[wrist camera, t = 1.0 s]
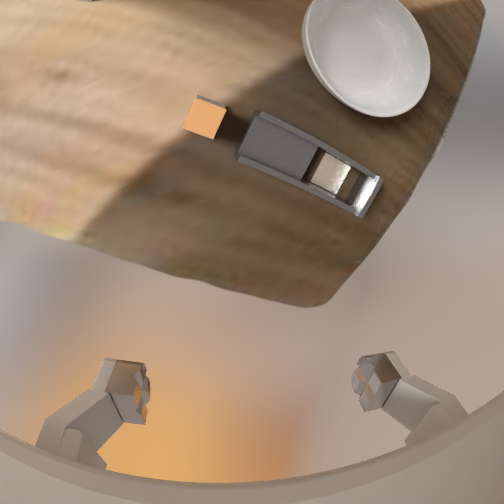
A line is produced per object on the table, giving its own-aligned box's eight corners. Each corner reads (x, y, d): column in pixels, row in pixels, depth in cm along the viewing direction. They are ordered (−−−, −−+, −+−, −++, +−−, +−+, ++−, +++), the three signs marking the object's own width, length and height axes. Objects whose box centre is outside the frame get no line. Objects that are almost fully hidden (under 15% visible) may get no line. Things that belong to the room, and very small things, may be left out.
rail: (255, 110, 34) (262, 111, 29) (367, 170, 41) (384, 180, 37) (233, 154, 37) (238, 162, 32) (347, 206, 44) (362, 218, 40)
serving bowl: (271, 85, 32) (286, 82, 26) (307, -25, 22) (325, -41, 17) (387, 131, 38) (413, 139, 32) (413, 34, 28) (439, 31, 22)
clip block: (195, 98, 31) (195, 97, 27) (224, 108, 32) (226, 109, 29) (184, 125, 32) (181, 128, 29) (211, 135, 34) (213, 139, 30)
